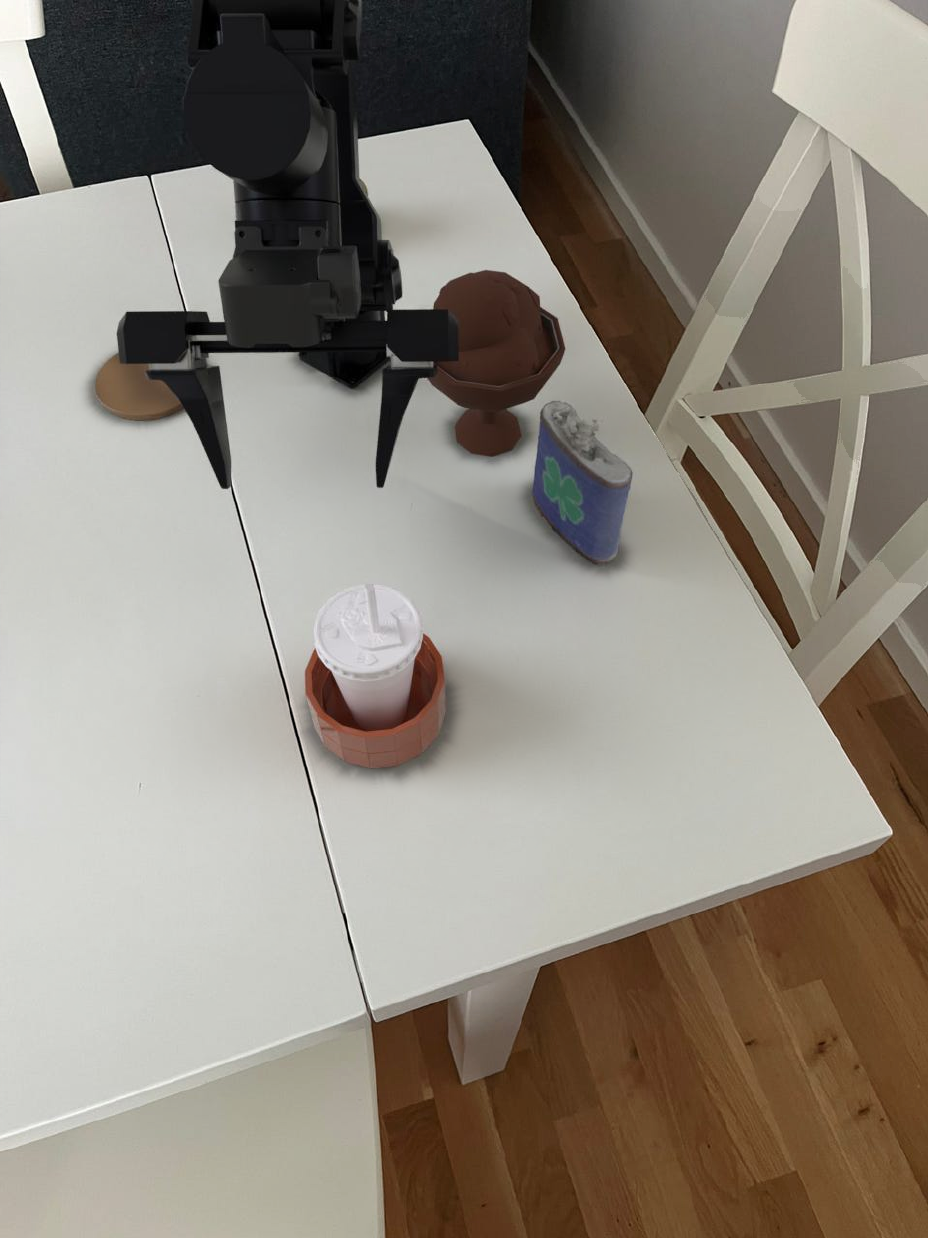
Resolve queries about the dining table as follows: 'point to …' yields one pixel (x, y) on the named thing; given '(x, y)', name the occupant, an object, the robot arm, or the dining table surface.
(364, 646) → the smoothie
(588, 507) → the flask
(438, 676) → the bowl
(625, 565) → the dining table surface
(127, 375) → the coaster
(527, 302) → the ice cream bowl
